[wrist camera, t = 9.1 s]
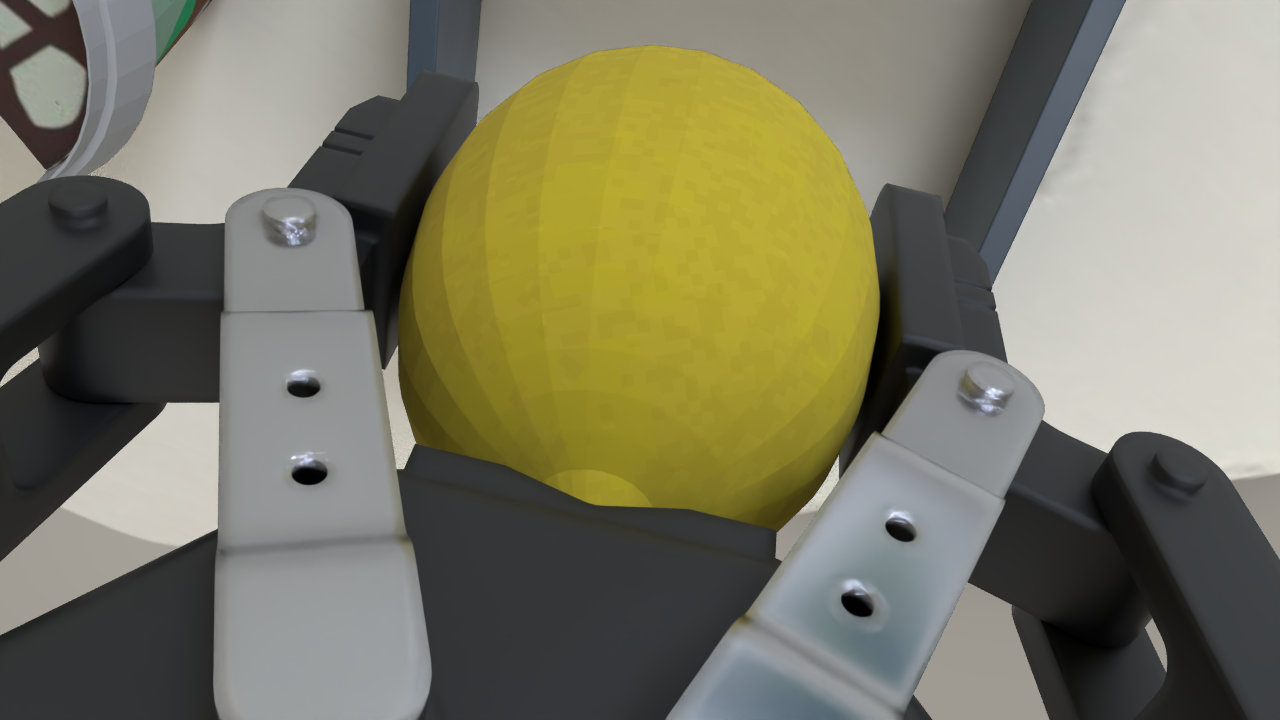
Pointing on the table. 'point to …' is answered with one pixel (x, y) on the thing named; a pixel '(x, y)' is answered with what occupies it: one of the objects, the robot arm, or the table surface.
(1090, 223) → the table surface
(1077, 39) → the rectangular frame
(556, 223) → the lemon
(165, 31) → the food container
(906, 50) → the table surface
